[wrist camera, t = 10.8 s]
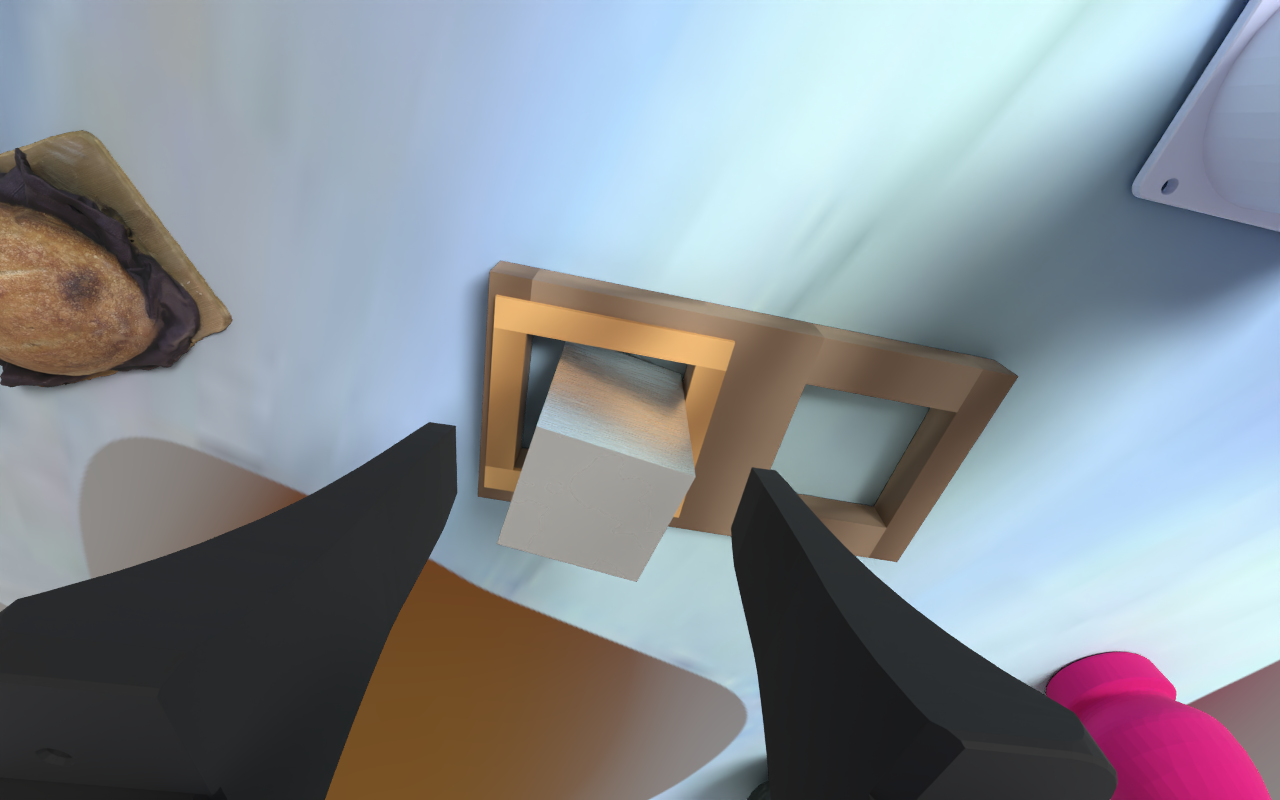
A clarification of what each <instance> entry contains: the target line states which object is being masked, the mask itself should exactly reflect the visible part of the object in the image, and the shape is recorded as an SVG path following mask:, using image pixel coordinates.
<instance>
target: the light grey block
mask: <svg viewBox="0 0 1280 800" xmlns="http://www.w3.org/2000/svg"><path fill="white" fill-rule="evenodd" d="M695 477H696V476H695V469H694V462H693V455H692V448H691V441H690V434H689V427H688V421H687V414H686V407H685V400H684V393H683V386H682V379H681V374H679V373H676V372H674V371H671V370H668V369H665V368H662V367H660V366H657V365H654V364H651V363H648V362H645V361H643V360H640V359H637V358H634V357H631V356H629V355H626V354H623V353H620V352H617V351H615V350H611V349H606V348H601V347H595V346H590V345H585V344H579V343H574V342H569V341H566V343H565V346H564V349H563V352H562V354H561V357H560V360H559V363H558V366H557V369H556V372H555V375H554V377H553V380H552V383H551V386H550V389H549V392H548V395H547V398H546V400H545V403H544V406H543V409H542V412H541V415H540V418H539V421H538V423H537V426H536V429H535V432H534V435H533V438H532V441H531V444H530V447H529V450H528V453H527V456H526V459H525V462H524V465H523V468H522V471H521V474H520V477H519V480H518V483H517V486H516V489H515V491H514V494H513V497H512V500H511V503H510V506H509V509H508V512H507V515H506V518H505V521H504V524H503V527H502V530H501V533H500V536H499V539H498V542H497V544H499V545H503V546H507V547H510V548H514V549H518V550H521V551H525V552H529V553H532V554H536V555H540V556H543V557H547V558H551V559H554V560H558V561H562V562H565V563H569V564H573V565H576V566H580V567H584V568H587V569H591V570H595V571H599V572H602V573H606V574H610V575H613V576H617V577H621V578H624V579H628V580H632V581H635V582H637V581H638V579H639V577H640V575H641V573H642V572H643V570H644V568H645V566H646V564H647V563H648V561H649V559H650V557H651V556H652V554H653V552H654V550H655V548H656V547H657V545H658V543H659V541H660V540H661V538H662V536H663V534H664V532H665V531H666V529H667V527H668V525H669V523H670V522H671V520H672V518H673V516H674V515H675V513H676V511H677V509H678V507H679V506H680V504H681V502H682V500H683V499H684V497H685V495H686V493H687V491H688V490H689V488H690V486H691V484H692V483H693V481H694V479H695Z"/></svg>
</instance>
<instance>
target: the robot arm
mask: <svg viewBox="0 0 1280 800" xmlns="http://www.w3.org/2000/svg"><path fill="white" fill-rule="evenodd" d="M1166 181H1168V184H1167V186H1166V188H1165V189H1164V190H1163V191H1161V188H1162V186H1163V184H1164V183H1165V182H1166ZM1132 193H1133V195H1134V196H1136V197H1138V198H1142V199H1146V200H1150V201H1154V202H1158V203H1162V204H1167V205H1171V206H1175V207H1179V208H1183V209H1187V210H1191V211H1196V212H1200V213H1204V214H1208V215H1212V216H1216V217H1220V218H1224V219H1229V220H1233V221H1237V222H1241V223H1245V224H1249V225H1253V226H1258V227H1262V228H1266V229H1270V230H1274V231H1278V232H1280V0H1250V1H1249V2H1248V4H1247V5H1246V7H1245V8H1244V10H1243V12H1242V13H1241V15H1240V16H1239V18H1238V19H1237V21H1236V22H1235V24H1234V26H1233V27H1232V29H1231V30H1230V32H1229V33H1228V35H1227V37H1226V38H1225V40H1224V41H1223V43H1222V44H1221V46H1220V47H1219V49H1218V51H1217V52H1216V54H1215V55H1214V57H1213V58H1212V60H1211V61H1210V63H1209V65H1208V66H1207V68H1206V69H1205V71H1204V72H1203V74H1202V75H1201V77H1200V79H1199V80H1198V82H1197V83H1196V85H1195V86H1194V88H1193V89H1192V91H1191V93H1190V94H1189V96H1188V97H1187V99H1186V100H1185V102H1184V103H1183V105H1182V107H1181V108H1180V110H1179V111H1178V113H1177V114H1176V116H1175V118H1174V119H1173V121H1172V122H1171V124H1170V125H1169V127H1168V128H1167V130H1166V132H1165V133H1164V135H1163V136H1162V138H1161V139H1160V141H1159V142H1158V144H1157V146H1156V147H1155V149H1154V150H1153V152H1152V153H1151V155H1150V156H1149V158H1148V160H1147V161H1146V163H1145V164H1144V166H1143V167H1142V169H1141V170H1140V172H1139V174H1138V175H1137V177H1136V178H1135V180H1134V182H1133V184H1132ZM456 495H457V464H456V426H452V425H445V424H438V423H431V422H429V423H427V424H426V425H424V426H423V427H421V428H419V429H418V430H416V431H415V432H413V433H412V434H410V435H409V436H407V437H406V438H404V439H403V440H401V441H400V442H398V443H397V444H395V445H394V446H392V447H390V448H389V449H387V450H386V451H384V452H383V453H381V454H379V455H378V456H376V457H375V458H373V459H372V460H370V461H368V462H367V463H365V464H364V465H362V466H360V467H359V468H357V469H355V470H354V471H352V472H350V473H348V474H347V475H345V476H343V477H341V478H340V479H338V480H336V481H334V482H333V483H331V484H329V485H327V486H326V487H324V488H322V489H320V490H319V491H317V492H315V493H313V494H311V495H309V496H307V497H305V498H303V499H301V500H299V501H297V502H295V503H294V504H291V505H289V506H287V507H285V508H283V509H281V510H278V511H277V512H274V513H272V514H270V515H268V516H266V517H263V518H261V519H259V520H257V521H254V522H252V523H249V524H247V525H244V526H242V527H239V528H237V529H235V530H232V531H230V532H227V533H225V534H222V535H220V536H218V537H215V538H213V539H210V540H207V541H205V542H202V543H200V544H197V545H194V546H191V547H189V548H186V549H183V550H180V551H177V552H175V553H172V554H169V555H167V556H163V557H160V558H157V559H155V560H151V561H148V562H145V563H142V564H139V565H136V566H133V567H130V568H126V569H123V570H120V571H117V572H113V573H111V574H107V575H104V576H100V577H96V578H93V579H89V580H86V581H82V582H79V583H75V584H71V585H68V586H64V587H61V588H57V589H54V590H50V591H47V592H43V593H40V594H36V595H32V596H28V597H24V598H20V599H17V600H16V601H14V602H13V603H12V604H10V605H9V606H8V607H6V608H5V609H4V610H3V611H1V612H0V800H325V798H326V795H327V792H328V789H329V786H330V783H331V781H332V778H333V775H334V772H335V770H336V767H337V764H338V762H339V759H340V756H341V754H342V751H343V748H344V746H345V743H346V740H347V738H348V735H349V732H350V729H351V727H352V724H353V721H354V719H355V716H356V714H357V711H358V709H359V706H360V703H361V701H362V699H363V696H364V694H365V691H366V688H367V686H368V683H369V681H370V678H371V676H372V673H373V671H374V669H375V666H376V664H377V661H378V659H379V656H380V654H381V652H382V649H383V647H384V644H385V642H386V640H387V637H388V635H389V632H390V630H391V628H392V626H393V624H394V622H395V620H396V618H397V616H398V614H399V612H400V610H401V608H402V606H403V604H404V603H405V601H406V599H407V597H408V595H409V593H410V591H411V590H412V588H413V586H414V584H415V582H416V580H417V578H418V577H419V575H420V573H421V571H422V569H423V567H424V565H425V564H426V562H427V560H428V558H429V556H430V554H431V552H432V550H433V548H434V547H435V545H436V543H437V541H438V539H439V537H440V535H441V533H442V531H443V529H444V527H445V524H446V522H447V519H448V516H449V514H450V511H451V508H452V506H453V503H454V500H455V497H456ZM731 537H732V550H733V560H734V567H735V572H736V577H737V582H738V586H739V591H740V595H741V600H742V604H743V608H744V613H745V617H746V621H747V626H748V630H749V634H750V639H751V643H752V648H753V652H754V657H755V663H756V668H757V674H758V682H759V690H760V698H761V706H762V714H763V723H764V733H765V743H766V752H767V762H768V774H769V786H770V798H771V800H1110V799H1111V798H1112V796H1113V794H1114V792H1115V790H1116V788H1117V783H1118V779H1117V771H1116V770H1115V768H1114V767H1113V766H1112V764H1111V763H1110V761H1109V760H1108V759H1107V757H1106V756H1105V754H1104V753H1103V752H1102V750H1101V749H1100V747H1099V746H1098V745H1097V743H1096V742H1095V740H1094V739H1093V738H1092V736H1091V735H1090V733H1089V732H1088V731H1087V729H1086V728H1085V726H1084V725H1083V724H1082V722H1081V721H1080V719H1079V718H1078V717H1077V715H1076V714H1075V713H1074V712H1073V711H1071V710H1069V709H1067V708H1066V707H1064V706H1062V705H1061V704H1059V703H1057V702H1056V701H1054V700H1052V699H1050V698H1049V697H1047V696H1045V695H1044V694H1042V693H1040V692H1039V691H1037V690H1035V689H1033V688H1032V687H1030V686H1028V685H1027V684H1025V683H1023V682H1021V681H1020V680H1018V679H1016V678H1015V677H1013V676H1011V675H1010V674H1008V673H1006V672H1005V671H1003V670H1002V669H1000V668H999V667H997V666H996V665H994V664H993V663H991V662H990V661H988V660H986V659H985V658H983V657H982V656H980V655H979V654H977V653H976V652H974V651H973V650H971V649H970V648H968V647H967V646H965V645H964V644H963V643H961V642H960V641H958V640H957V639H955V638H954V637H952V636H951V635H950V634H948V633H947V632H945V631H944V630H943V629H941V628H940V627H939V626H937V625H936V624H935V623H933V622H932V621H931V620H929V619H928V618H927V617H925V616H924V615H923V614H921V613H920V612H919V611H917V610H916V609H915V608H914V607H912V606H911V605H910V604H909V603H907V602H906V601H905V600H904V599H902V598H901V597H900V596H899V595H898V594H896V593H895V592H894V591H893V590H892V589H891V588H890V587H888V586H887V585H886V584H885V583H884V582H883V581H881V580H880V579H879V578H878V577H877V576H876V575H874V574H873V573H872V572H871V571H870V570H869V569H868V568H867V567H866V566H865V565H864V564H863V563H862V562H861V561H860V560H859V559H857V558H856V557H855V556H854V555H853V554H852V553H851V552H850V551H849V550H848V549H847V548H846V547H845V546H844V545H843V544H842V543H841V542H840V541H839V540H838V539H837V537H836V536H835V535H834V534H833V533H832V532H831V531H830V530H829V529H828V528H827V527H826V526H825V525H824V524H823V523H822V521H821V520H820V519H819V518H818V517H817V516H816V515H815V514H814V513H813V512H812V510H811V509H810V508H809V507H808V506H807V505H806V504H805V502H804V501H803V500H802V499H801V498H800V497H799V496H798V494H797V493H796V492H795V491H794V490H793V489H792V488H791V486H790V485H789V484H788V483H787V482H786V481H785V480H784V479H783V478H782V476H781V475H780V474H779V473H778V472H777V471H775V470H768V469H761V468H754V467H752V468H751V471H750V474H749V477H748V480H747V483H746V485H745V488H744V491H743V494H742V497H741V500H740V503H739V506H738V509H737V512H736V514H735V517H734V520H733V523H732V526H731Z"/></svg>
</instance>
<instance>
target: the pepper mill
mask: <svg viewBox="0 0 1280 800" xmlns="http://www.w3.org/2000/svg"><path fill="white" fill-rule="evenodd" d="M1046 693H1047V697H1049V698H1050V699H1052V700H1054V701H1056V702H1057V703H1059V704H1061V705H1062V706H1064V707H1066V708H1067V709H1069V710H1071V711H1073V712H1074V713H1075V714H1076V715H1077V717H1078V718H1079V719H1080V721H1081V722H1082V724H1083V725H1084V726H1085V728H1086V729H1087V731H1088V732H1089V733H1090V735H1091V736H1092V738H1093V739H1094V740H1095V742H1096V743H1097V745H1098V746H1099V747H1100V749H1101V750H1102V752H1103V753H1104V754H1105V756H1106V757H1107V759H1108V760H1109V761H1110V763H1111V764H1112V766H1113V767H1114V768H1115V770H1116V771H1117V779H1118V783H1117V788H1116V790H1115V792H1114V794H1113V796H1112V798H1111V799H1110V800H1271V798H1270V795H1269V793H1268V791H1267V789H1266V786H1265V784H1264V782H1263V780H1262V777H1261V775H1260V774H1259V772H1258V770H1257V769H1256V767H1255V766H1254V764H1253V762H1252V761H1251V759H1250V757H1249V756H1248V754H1247V752H1246V751H1245V750H1244V749H1243V748H1242V746H1241V745H1240V744H1239V743H1238V741H1237V740H1236V739H1235V738H1234V737H1233V735H1232V734H1231V733H1230V732H1229V731H1228V729H1226V727H1225V726H1224V725H1222V724H1221V723H1220V722H1219V721H1218V720H1216V719H1215V718H1213V717H1212V716H1210V715H1208V714H1207V713H1205V712H1203V711H1201V710H1198V709H1196V708H1193V707H1191V706H1188V705H1185V704H1182V703H1180V702H1177V701H1175V700H1176V690H1175V688H1174V686H1173V685H1172V684H1171V683H1170V681H1169V680H1168V679H1167V678H1166V677H1165V676H1164V675H1163V674H1162V673H1161V672H1160V671H1159V670H1158V669H1157V668H1156V666H1155V665H1154V664H1153V663H1152V662H1151V661H1150V660H1149V659H1147V658H1145V657H1143V656H1141V655H1139V654H1134V653H1129V652H1110V653H1103V654H1098V655H1094V656H1090V657H1087V658H1084V659H1082V660H1079V661H1076V662H1074V663H1072V664H1070V665H1069V666H1067V667H1065V668H1063V669H1062V670H1060V671H1059V672H1058V673H1057V674H1056V675H1055V676H1054V677H1053V678H1052V679H1051V680H1050V682H1049V683H1048V685H1047V691H1046Z"/></svg>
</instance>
